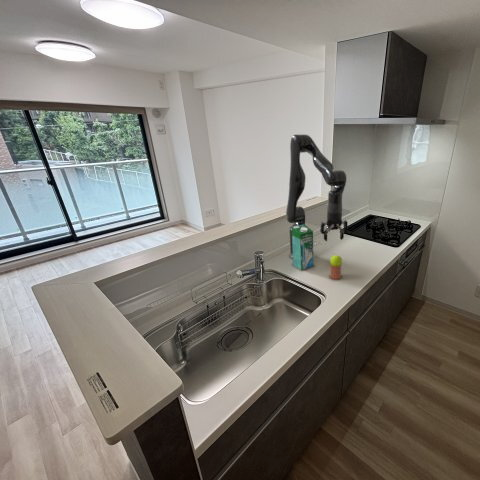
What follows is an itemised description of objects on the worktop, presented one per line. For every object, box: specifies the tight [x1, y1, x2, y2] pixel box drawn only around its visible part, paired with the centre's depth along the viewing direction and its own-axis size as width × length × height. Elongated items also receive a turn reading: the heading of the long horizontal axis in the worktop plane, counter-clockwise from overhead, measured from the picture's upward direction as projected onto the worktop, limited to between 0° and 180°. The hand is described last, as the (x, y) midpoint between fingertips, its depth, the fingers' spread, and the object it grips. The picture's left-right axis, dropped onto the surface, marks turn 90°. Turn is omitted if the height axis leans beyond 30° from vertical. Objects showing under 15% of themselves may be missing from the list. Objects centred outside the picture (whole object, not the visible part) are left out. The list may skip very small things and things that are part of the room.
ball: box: [329, 254, 343, 266], centre depth 142 cm, size 6×6×6 cm
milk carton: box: [292, 223, 314, 271], centre depth 155 cm, size 9×9×25 cm
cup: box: [329, 264, 342, 280], centre depth 144 cm, size 6×6×8 cm
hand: (333, 239), depth 139 cm, fingers open, 8 cm apart
